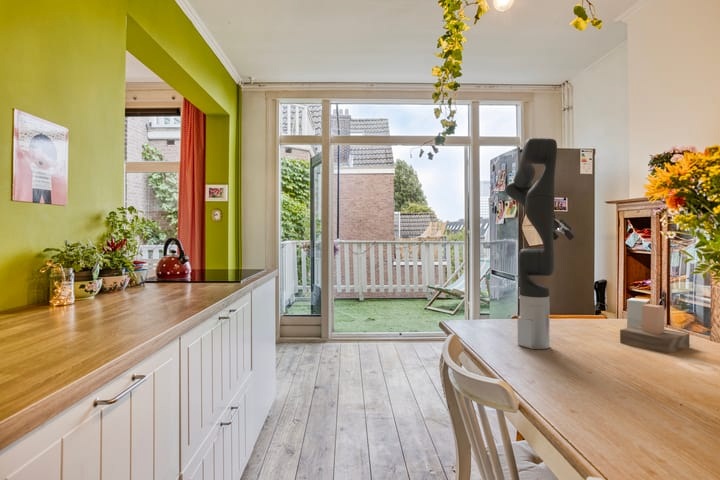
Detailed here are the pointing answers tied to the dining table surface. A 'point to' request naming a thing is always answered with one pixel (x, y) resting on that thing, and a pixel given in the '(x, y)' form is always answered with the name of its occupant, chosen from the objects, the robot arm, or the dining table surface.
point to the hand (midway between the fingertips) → (564, 238)
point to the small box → (635, 311)
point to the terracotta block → (653, 318)
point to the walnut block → (655, 339)
